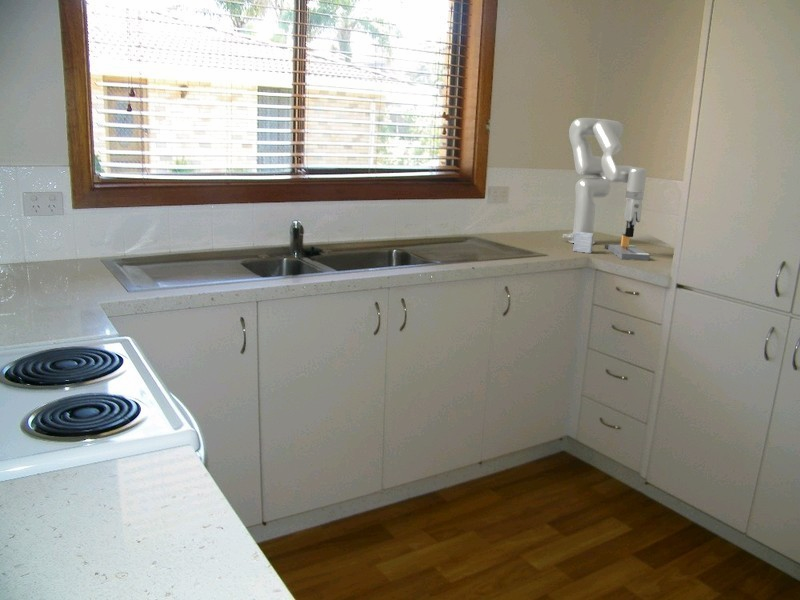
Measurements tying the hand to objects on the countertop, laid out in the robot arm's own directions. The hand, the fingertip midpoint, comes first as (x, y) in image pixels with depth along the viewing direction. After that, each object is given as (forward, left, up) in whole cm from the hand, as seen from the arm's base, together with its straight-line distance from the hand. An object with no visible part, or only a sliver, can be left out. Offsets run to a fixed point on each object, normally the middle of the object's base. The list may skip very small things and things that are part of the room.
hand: (628, 236), depth 317 cm
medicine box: (-20, +1, -8) cm, 22 cm away
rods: (0, +14, -8) cm, 16 cm away
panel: (0, -1, -8) cm, 8 cm away
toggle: (0, +5, -8) cm, 10 cm away
